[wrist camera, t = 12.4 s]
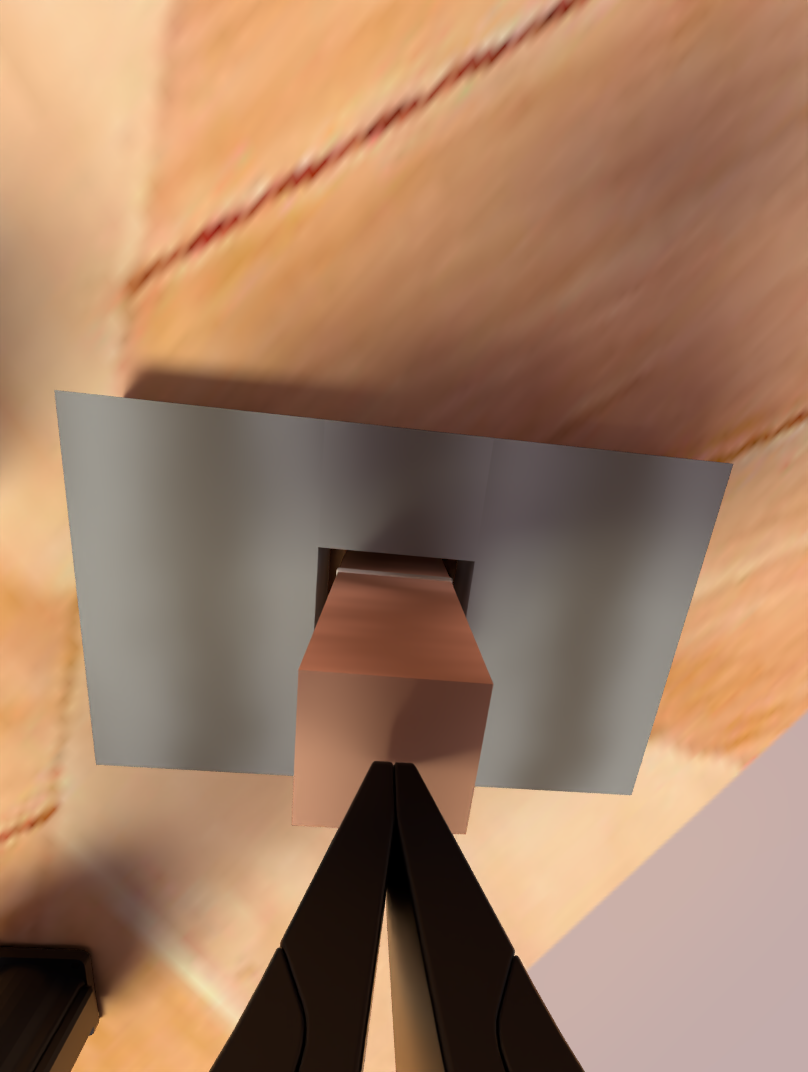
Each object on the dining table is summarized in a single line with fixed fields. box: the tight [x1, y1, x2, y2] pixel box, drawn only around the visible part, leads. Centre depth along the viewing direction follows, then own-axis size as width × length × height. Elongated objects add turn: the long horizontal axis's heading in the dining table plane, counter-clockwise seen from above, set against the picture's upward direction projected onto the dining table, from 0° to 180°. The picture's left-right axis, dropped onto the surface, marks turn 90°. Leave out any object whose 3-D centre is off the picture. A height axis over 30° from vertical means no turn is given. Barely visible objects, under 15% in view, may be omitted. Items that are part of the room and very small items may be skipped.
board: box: [54, 390, 733, 795], centre depth 16 cm, size 22×14×3 cm, turn 84°
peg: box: [292, 550, 493, 834], centre depth 13 cm, size 4×4×9 cm
